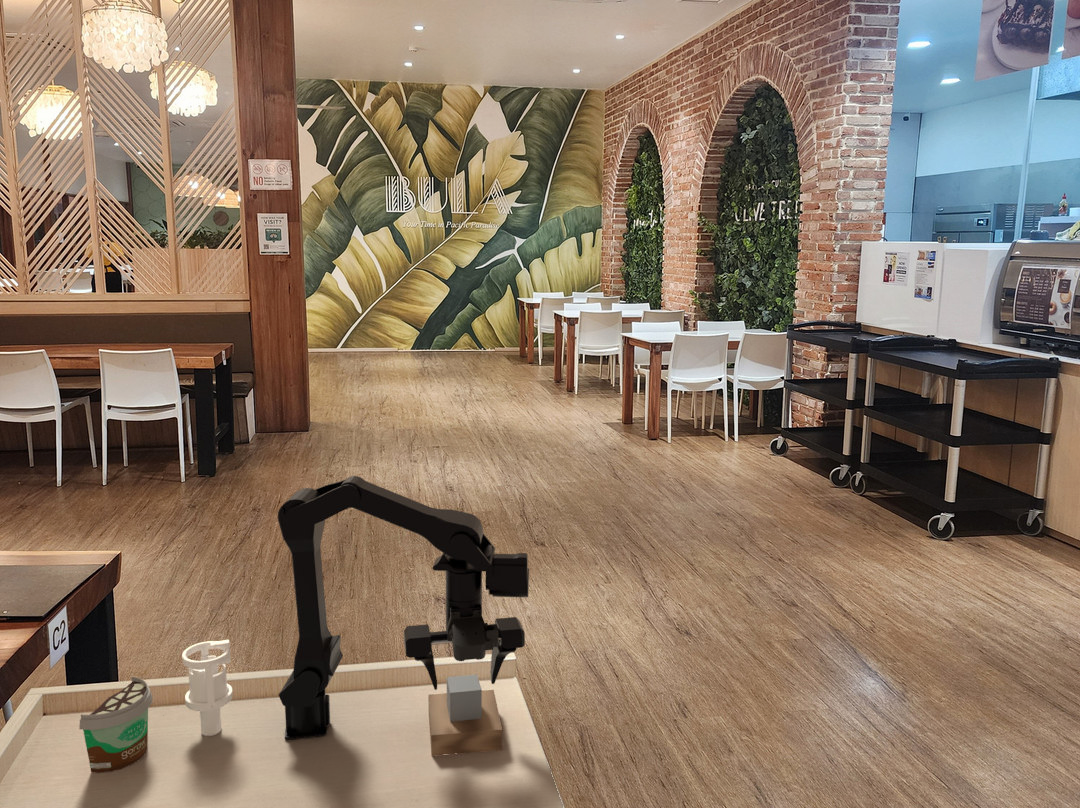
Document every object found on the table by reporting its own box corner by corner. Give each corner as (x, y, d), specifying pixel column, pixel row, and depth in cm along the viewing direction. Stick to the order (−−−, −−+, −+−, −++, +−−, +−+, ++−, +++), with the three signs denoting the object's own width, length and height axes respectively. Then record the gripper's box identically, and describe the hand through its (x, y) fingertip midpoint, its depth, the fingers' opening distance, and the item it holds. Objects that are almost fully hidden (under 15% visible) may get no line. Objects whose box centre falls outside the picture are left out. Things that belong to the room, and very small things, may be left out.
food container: (121, 784, 124) (115, 721, 122) (84, 778, 125) (77, 716, 123) (173, 736, 136) (168, 679, 134) (138, 731, 137) (134, 674, 135)
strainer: (237, 736, 136) (231, 649, 133) (189, 747, 133) (183, 658, 130) (231, 714, 142) (226, 631, 139) (186, 724, 139) (180, 639, 136)
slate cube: (450, 721, 135) (450, 692, 134) (446, 705, 140) (446, 677, 139) (481, 718, 136) (481, 689, 135) (477, 702, 141) (477, 674, 140)
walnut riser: (431, 758, 132) (431, 735, 131) (428, 716, 144) (428, 694, 143) (502, 752, 134) (502, 729, 133) (493, 711, 145) (493, 689, 145)
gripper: (407, 622, 124) (409, 719, 127) (532, 611, 128) (531, 706, 131) (402, 591, 135) (404, 681, 138) (518, 582, 139) (517, 670, 142)
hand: (464, 685), depth 137 cm, fingers open, 9 cm apart
